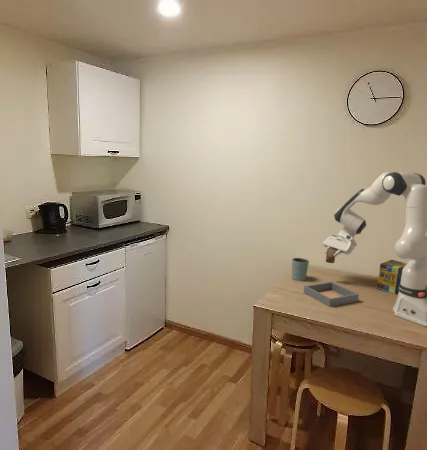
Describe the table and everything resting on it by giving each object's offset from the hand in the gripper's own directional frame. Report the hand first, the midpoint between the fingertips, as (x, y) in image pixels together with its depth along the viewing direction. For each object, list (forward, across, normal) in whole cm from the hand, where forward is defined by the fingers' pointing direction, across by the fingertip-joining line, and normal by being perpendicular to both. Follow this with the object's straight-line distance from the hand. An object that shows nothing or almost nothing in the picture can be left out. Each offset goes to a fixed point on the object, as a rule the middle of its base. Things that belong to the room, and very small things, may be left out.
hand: (330, 254), depth 219 cm
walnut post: (+3, 0, +4) cm, 4 cm away
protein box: (-8, +22, +33) cm, 40 cm away
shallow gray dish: (+23, +19, +1) cm, 30 cm away
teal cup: (+21, -11, +3) cm, 24 cm away
